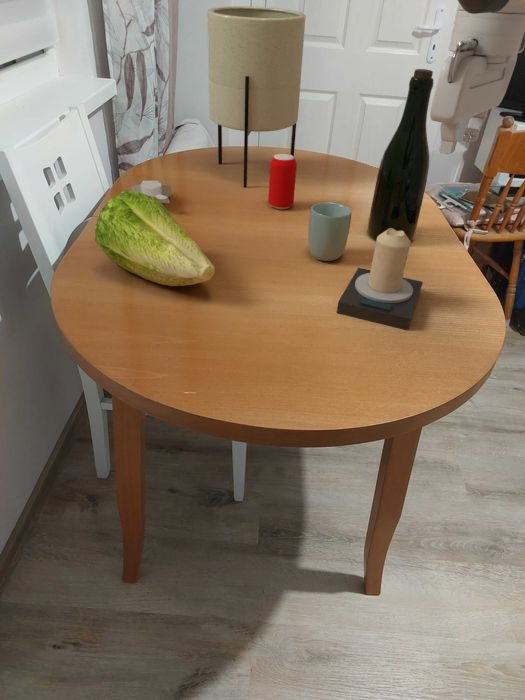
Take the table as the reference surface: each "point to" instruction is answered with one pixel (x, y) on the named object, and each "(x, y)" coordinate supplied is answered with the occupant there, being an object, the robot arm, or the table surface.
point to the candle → (389, 261)
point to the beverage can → (282, 181)
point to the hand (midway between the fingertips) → (458, 146)
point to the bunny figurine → (154, 190)
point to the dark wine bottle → (404, 165)
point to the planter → (254, 70)
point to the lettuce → (149, 241)
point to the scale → (379, 301)
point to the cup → (328, 230)
